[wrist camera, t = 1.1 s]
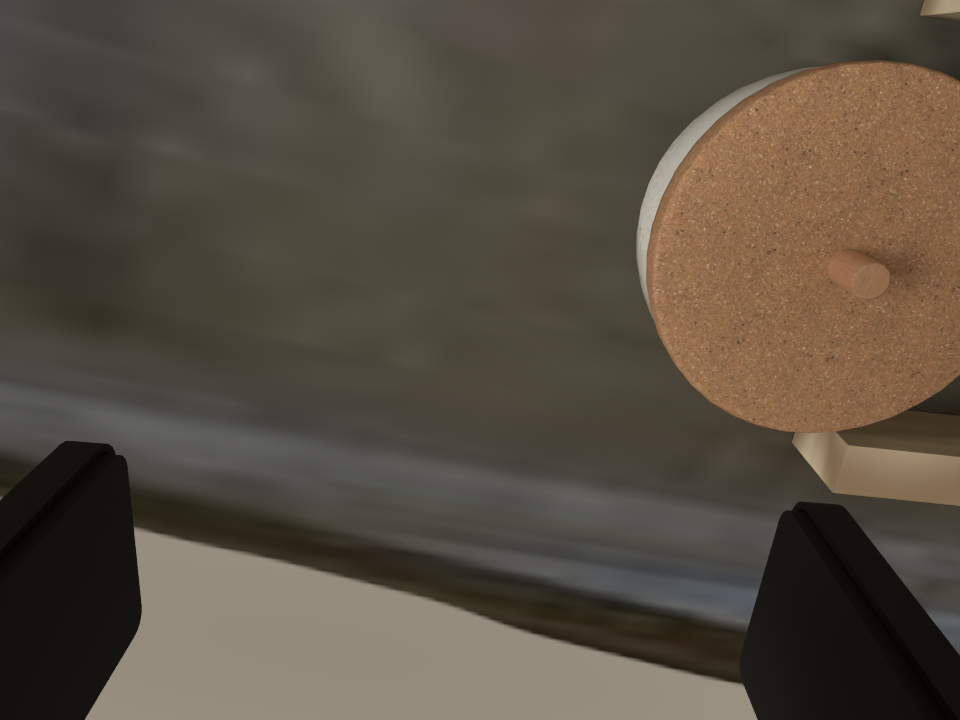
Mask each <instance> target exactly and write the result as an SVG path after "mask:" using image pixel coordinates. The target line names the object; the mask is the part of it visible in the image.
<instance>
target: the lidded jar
mask: <svg viewBox="0 0 960 720" xmlns="http://www.w3.org/2000/svg"><path fill="white" fill-rule="evenodd" d="M637 263H638V270H639V277H640V282H641V287H642V290H643V294H644V297H645V300H646V303H647V306H648V309H649V311H650V313H651V315H652V317H653V319H654V322H655V325H656V328H657V331H658V334H659V336H660V338H661V340H662V342H663V344H664V345H665V347H666V349H667V351H668V353H669V355H670V357H671V358H672V360H673V362H674V363H675V365H676V366H677V367H678V368H679V370H680V371H681V372H682V374H683V375H684V376H685V377H686V379H687V380H688V381H689V382H690V384H691V385H692V386H693V387H694V388H696V389H697V390H698V391H699V392H700V393H701V394H702V395H703V396H705V397H706V398H707V399H708V400H709V401H710V402H712V403H713V404H715V405H717V406H718V407H720V408H722V409H723V410H725V411H726V412H728V413H730V414H731V415H733V416H736V417H738V418H741V419H743V420H745V421H748V422H750V423H753V424H755V425H759V426H763V427H767V428H771V429H776V430H780V431H789V432H801V433H819V432H836V431H841V430H846V429H852V428H857V427H862V426H866V425H869V424H872V423H875V422H878V421H881V420H884V419H887V418H891V417H893V416H895V415H897V414H899V413H901V412H903V411H905V410H907V409H909V408H911V407H913V406H916V405H918V404H919V403H921V402H923V401H924V400H926V399H927V398H929V397H931V396H932V395H934V394H936V393H937V392H939V391H940V390H942V389H944V388H945V387H946V386H947V385H948V384H949V383H951V382H952V381H953V380H954V379H955V378H957V377H958V376H959V375H960V81H959V80H957V79H955V78H953V77H951V76H949V75H947V74H945V73H943V72H940V71H937V70H933V69H930V68H927V67H923V66H920V65H916V64H912V63H903V62H893V61H883V60H866V61H851V62H837V63H833V64H829V65H824V66H820V67H808V68H802V69H798V70H793V71H789V72H785V73H780V74H776V75H773V76H770V77H767V78H765V79H762V80H760V81H757V82H755V83H752V84H750V85H747V86H745V87H742V88H740V89H738V90H737V91H735V92H733V93H732V94H730V95H728V96H726V97H725V98H723V99H721V100H720V101H718V102H716V103H715V104H714V105H713V106H711V107H710V108H709V109H708V110H706V111H705V112H704V113H703V114H701V115H700V116H699V117H698V118H696V119H695V120H694V121H693V122H692V123H691V124H690V125H689V126H688V127H687V128H686V129H685V130H684V131H683V132H682V133H681V134H680V135H679V136H678V137H677V138H676V140H675V141H674V142H673V144H672V145H671V146H670V148H669V149H668V151H667V152H666V153H665V155H664V156H663V158H662V159H661V161H660V162H659V164H658V166H657V168H656V170H655V172H654V174H653V176H652V178H651V180H650V182H649V185H648V188H647V191H646V194H645V197H644V200H643V203H642V206H641V212H640V218H639V223H638V229H637Z"/></svg>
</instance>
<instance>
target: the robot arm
mask: <svg viewBox="0 0 960 720" xmlns="http://www.w3.org/2000/svg"><path fill="white" fill-rule="evenodd" d="M141 607H142V605H141V595H140V586H139V576H138V566H137V556H136V546H135V537H134V526H133V517H132V507H131V497H130V487H129V477H128V467H127V462H126V460H125V458H124V457H123V456H122V455H116V454H115V451H114V449H113V447H112V446H111V445H109V444H102V443H90V442H78V441H65V442H63V443H62V444H60V445H59V446H58V447H57V448H56V449H55V450H54V451H53V452H52V453H51V454H50V455H48V456H47V457H46V458H45V459H44V460H43V461H42V462H41V463H40V464H39V465H38V466H37V467H36V468H35V469H33V470H32V471H31V472H30V473H29V474H28V475H27V476H26V477H25V478H24V479H23V480H22V481H21V482H19V483H18V484H17V485H16V486H15V487H14V488H13V489H12V490H11V491H10V492H9V493H8V494H7V495H5V496H4V497H3V498H2V499H1V500H0V720H85V718H86V716H87V715H88V713H89V711H90V710H91V708H92V706H93V705H94V703H95V701H96V700H97V698H98V696H99V695H100V693H101V691H102V690H103V688H104V686H105V685H106V683H107V681H108V680H109V678H110V676H111V674H112V673H113V671H114V670H115V668H116V666H117V665H118V663H119V661H120V660H121V658H122V656H123V655H124V653H125V651H126V650H127V648H128V646H129V645H130V643H131V641H132V640H133V638H134V636H135V634H136V632H137V630H138V627H139V624H140V619H141V612H142V608H141ZM740 673H741V678H742V681H743V684H744V687H745V689H746V692H747V694H748V697H749V699H750V701H751V704H752V707H753V709H754V712H755V714H756V717H757V719H758V720H960V655H959V654H958V653H957V652H956V650H955V649H954V648H953V646H952V645H951V644H950V642H949V641H948V640H947V639H946V637H945V636H944V635H943V633H942V632H941V631H940V630H939V628H938V627H937V626H936V624H935V623H934V622H933V621H932V619H931V618H930V617H929V615H928V614H927V613H926V612H925V610H924V609H923V608H922V606H921V605H920V604H919V603H918V601H917V600H916V599H915V597H914V596H913V595H912V594H911V592H910V591H909V590H908V588H907V587H906V586H905V585H904V583H903V582H902V581H901V579H900V578H899V577H898V575H897V574H896V573H895V572H894V570H893V569H892V568H891V566H890V565H889V564H888V563H887V561H886V560H885V559H884V557H883V556H882V555H881V554H880V552H879V551H878V550H877V548H876V547H875V546H874V545H873V543H872V542H871V541H870V539H869V538H868V537H867V536H866V534H865V533H864V532H863V530H862V529H861V528H860V527H859V525H858V524H857V523H856V521H855V520H854V519H853V517H852V516H851V515H850V514H849V512H848V511H847V510H846V509H845V508H844V507H843V506H841V505H836V504H824V503H812V502H799V503H797V504H796V505H795V506H794V508H793V510H792V511H784V512H783V513H782V515H781V517H780V519H779V522H778V526H777V529H776V533H775V536H774V540H773V543H772V547H771V550H770V554H769V557H768V561H767V564H766V568H765V571H764V575H763V578H762V582H761V585H760V589H759V592H758V596H757V599H756V603H755V606H754V610H753V613H752V616H751V620H750V623H749V627H748V630H747V634H746V637H745V641H744V644H743V648H742V651H741V656H740Z"/></svg>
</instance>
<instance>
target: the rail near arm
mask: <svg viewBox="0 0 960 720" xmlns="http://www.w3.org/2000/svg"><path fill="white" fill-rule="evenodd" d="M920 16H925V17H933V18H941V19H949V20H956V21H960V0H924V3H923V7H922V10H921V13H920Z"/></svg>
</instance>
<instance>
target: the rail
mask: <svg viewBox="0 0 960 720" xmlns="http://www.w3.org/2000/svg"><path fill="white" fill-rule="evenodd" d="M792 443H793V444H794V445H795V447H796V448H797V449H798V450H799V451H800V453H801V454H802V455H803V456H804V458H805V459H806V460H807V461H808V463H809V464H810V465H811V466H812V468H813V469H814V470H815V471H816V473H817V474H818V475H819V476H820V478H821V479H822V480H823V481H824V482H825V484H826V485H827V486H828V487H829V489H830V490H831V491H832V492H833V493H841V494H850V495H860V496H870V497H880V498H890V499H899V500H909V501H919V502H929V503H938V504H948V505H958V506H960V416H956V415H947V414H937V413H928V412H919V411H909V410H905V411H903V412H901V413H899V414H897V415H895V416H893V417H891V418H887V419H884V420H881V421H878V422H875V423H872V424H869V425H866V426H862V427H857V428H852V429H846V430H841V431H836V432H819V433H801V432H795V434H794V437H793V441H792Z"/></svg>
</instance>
